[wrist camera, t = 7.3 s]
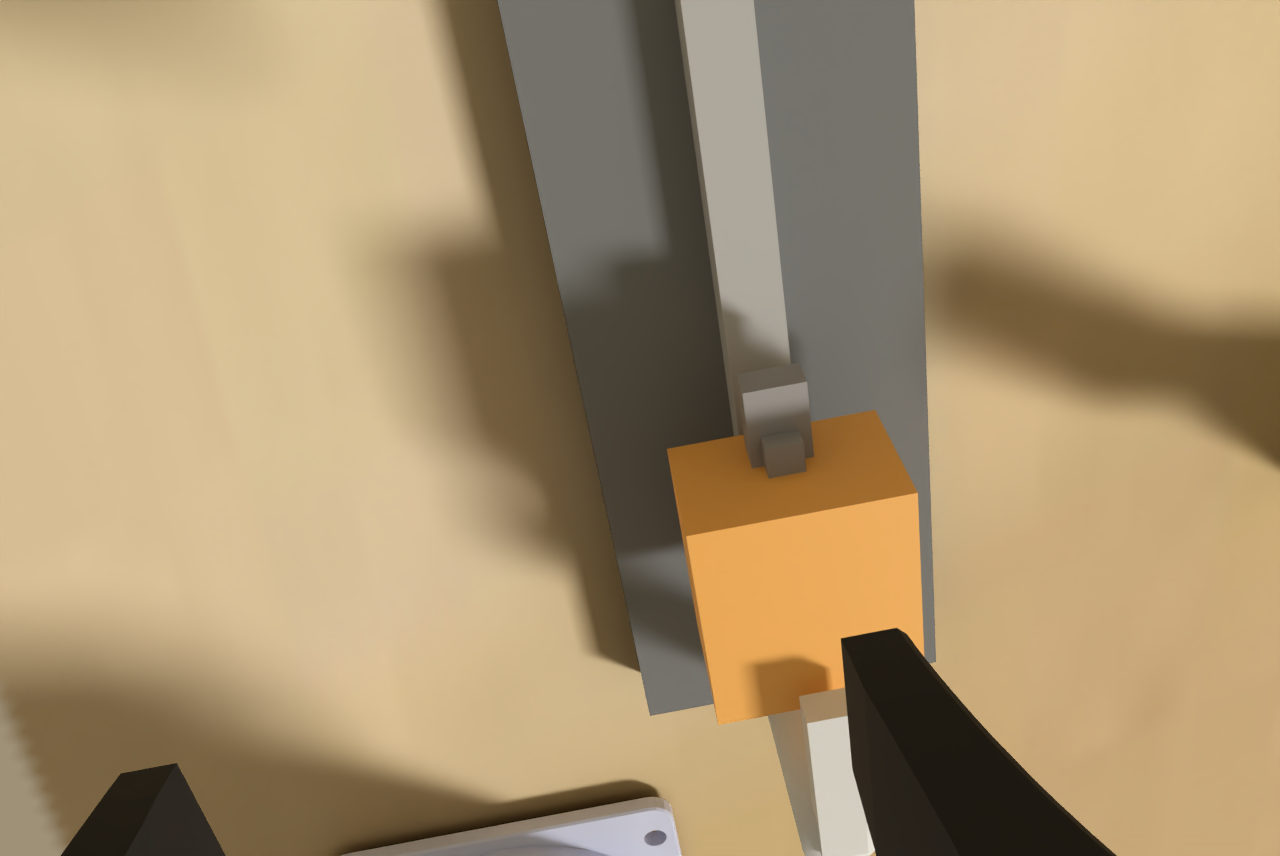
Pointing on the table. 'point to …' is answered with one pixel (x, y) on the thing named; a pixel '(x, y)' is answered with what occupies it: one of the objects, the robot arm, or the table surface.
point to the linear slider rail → (730, 279)
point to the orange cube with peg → (794, 545)
